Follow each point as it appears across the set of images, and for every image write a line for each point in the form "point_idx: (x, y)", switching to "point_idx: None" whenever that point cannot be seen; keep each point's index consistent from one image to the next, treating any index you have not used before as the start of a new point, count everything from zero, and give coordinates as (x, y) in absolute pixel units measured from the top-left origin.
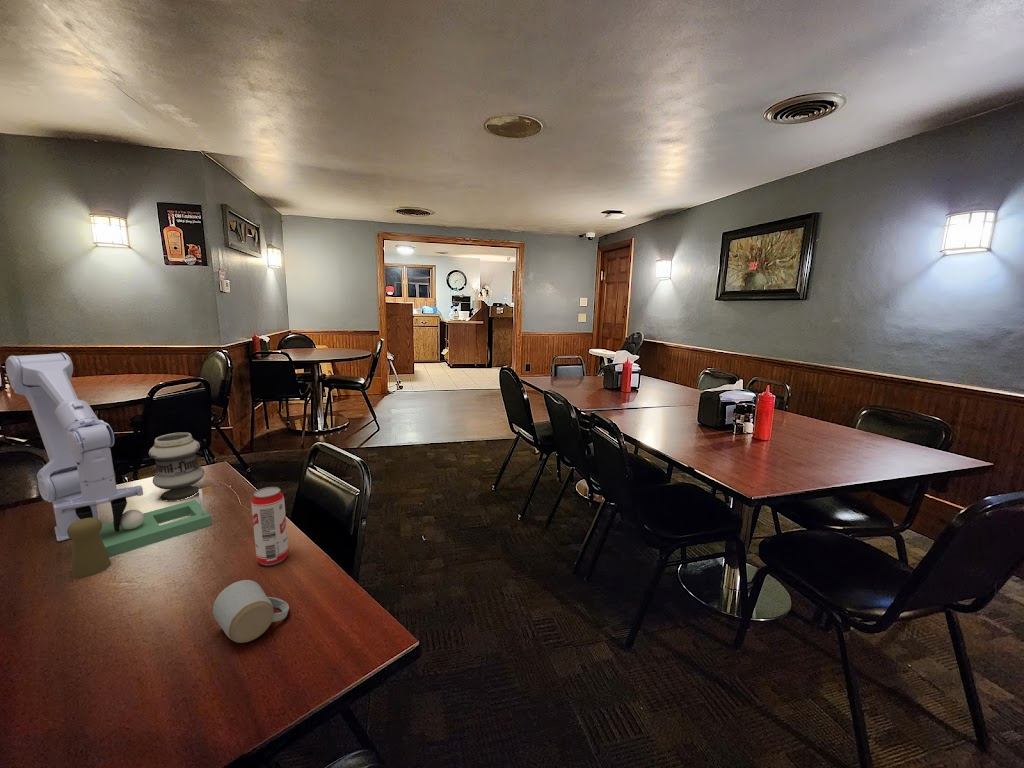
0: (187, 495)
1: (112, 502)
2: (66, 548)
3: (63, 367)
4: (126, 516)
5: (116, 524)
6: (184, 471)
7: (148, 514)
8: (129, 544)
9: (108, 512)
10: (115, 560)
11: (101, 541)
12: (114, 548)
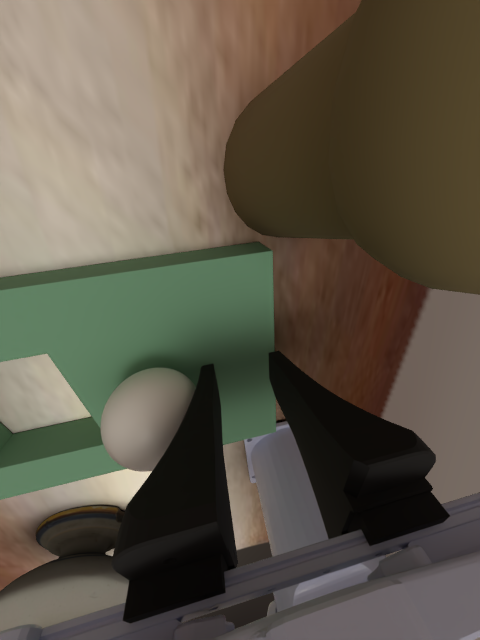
0: (62, 523)
1: (225, 555)
2: (314, 376)
3: None
4: (162, 422)
5: (208, 386)
6: None
7: None
8: (160, 262)
9: (233, 490)
10: (209, 190)
11: (290, 96)
12: (213, 253)
